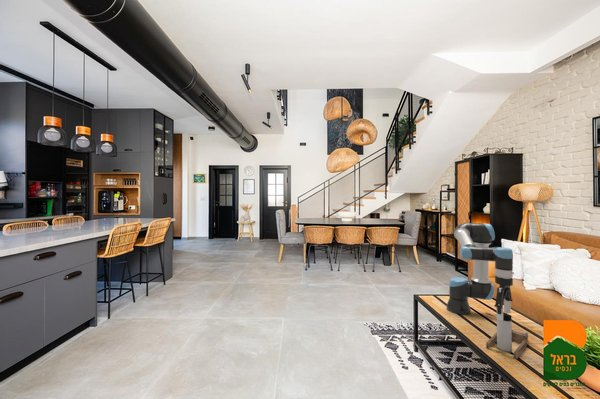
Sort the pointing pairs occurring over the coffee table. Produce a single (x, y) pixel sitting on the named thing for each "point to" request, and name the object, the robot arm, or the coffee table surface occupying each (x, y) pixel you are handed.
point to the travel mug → (504, 333)
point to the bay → (516, 337)
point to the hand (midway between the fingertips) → (503, 316)
